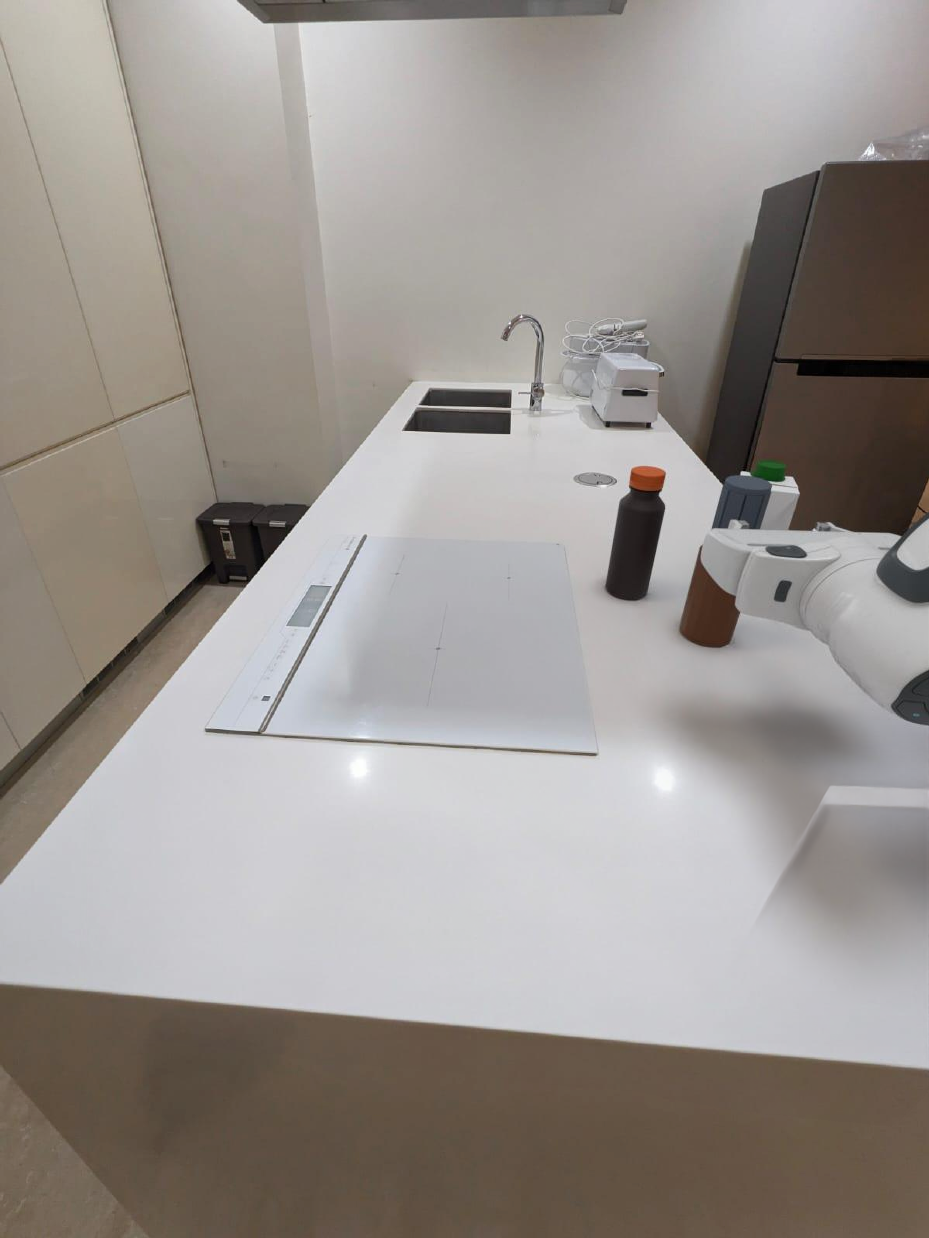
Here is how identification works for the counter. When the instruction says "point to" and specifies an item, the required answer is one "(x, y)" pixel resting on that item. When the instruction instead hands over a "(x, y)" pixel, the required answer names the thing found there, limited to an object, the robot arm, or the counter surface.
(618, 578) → the vinegar
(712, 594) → the bottle
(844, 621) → the robot arm
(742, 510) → the cylinder
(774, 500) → the milk carton
